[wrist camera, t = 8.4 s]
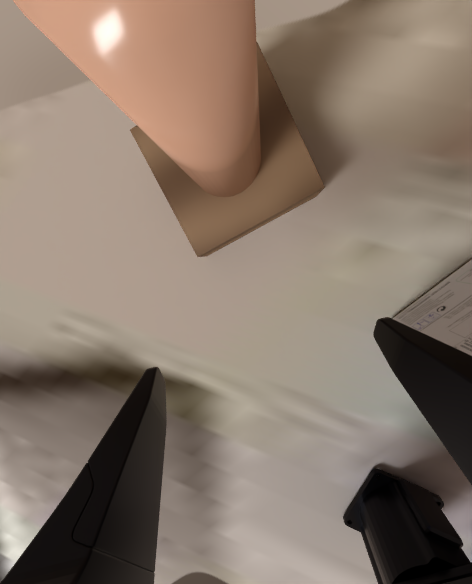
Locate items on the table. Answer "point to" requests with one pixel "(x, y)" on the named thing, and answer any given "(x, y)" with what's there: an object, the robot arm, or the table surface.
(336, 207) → the table surface
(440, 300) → the ink cartridge box
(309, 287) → the table surface
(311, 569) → the table surface
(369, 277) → the table surface
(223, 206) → the walnut plinth
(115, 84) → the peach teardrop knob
